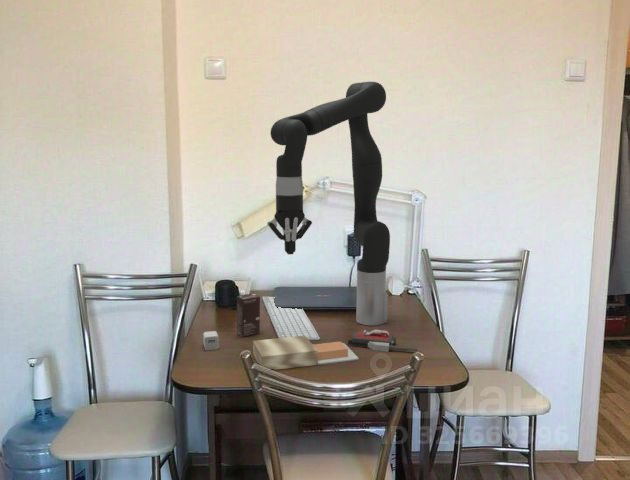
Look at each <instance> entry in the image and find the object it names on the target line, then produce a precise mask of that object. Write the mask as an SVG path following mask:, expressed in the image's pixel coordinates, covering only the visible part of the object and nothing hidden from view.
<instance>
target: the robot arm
mask: <svg viewBox="0 0 630 480" xmlns="http://www.w3.org/2000/svg"><path fill="white" fill-rule="evenodd" d="M386 101H387V92H386V90H385V87H384V86H383V85H382V84H381V83H379V82H376V81H362V82H355V83H352V84H350V85H349V86H348V88H347V90H346V93H345V97H344V98H341V99H337V100H332V101H328V102H325V103H322V104H319V105H316V106H315V107H312V108H310V109H307V110H306V111H304V112H300V113H297V114H293V115H290V116H286V117H283V118H280V119H278V120H277V121H275V122H274V123H273V124H272V126H271V128H270V138H271V140H272V141H273V142H274V143H275V144H277V145H279V146H284V152H283V154H280V155H278V157H276V162H275V163H276V164H275V165H276V167H275V169H276V175H275V176H276V180H275V214H274V217H273V219H272V220H269V221H267V223H266V224H267V226H268V227H269V228H270V230H271V231H272V232H273V233H274V234H275V235H276V237H277V238H278V239H279V240H281V241H284V252H285V253H286V254H287V255H294V254H295V253H296V246H297V245H296V241H297V240H301V239H302V238H303V237H304V235H305V234H306V233H307V231H308V230H309V228H310V227H311V226H312V224H313V222H312V220H310V219H308V218H306V216H305V213H304V183H303V163H302V162H303V158H304V154H305V151H306V146H307V141H308V137H309V136H315V135H317V134H319V133H322V132H324V131H326V130H328V129H330V128H332V127H334V126H336V125H339V124H340V123H341V124H342V123H344V122H346V121H348V127H349V135H350V136H349V137H350V146H351V148H350V149H351V166H352V167H351V169H352V180H353V181H352V182H353V197H354V199H353V200H354V201H353V202H354V217H353V236H354V240H355V241H356V242H357V244H358V245H360V246H361V247H362V255H361V258H360V259H359V260H358V261H357V263H356V307H355V308H356V311H355V313H356V315H355V316H356V319H355V321H356V322H357V323H358V324H360V325H364V326H379V325H383V324H385V323H388V305H389V304H388V303H389V300H388V297H389V295H388V293H387V292H386V281H387V280H386V278H387V277H386V276H387V273H386V272H387V265H388V262H389V258H390V248H391V247H390V244H391V233H390V229H389V226H387V225H386V224H385V223H383V222H382V221H379V220H378V218H377V208H376V207H377V197H378V195H379V192H380V189H381V186H382V185H381V184H382V181H383V180H382V179H383V163H382V162H383V157H382V154H381V151H380V150H379V149H380V148H379V147H378V145H377V144H376V141H375V140H374V137H373V136H372V134H371V132H370V127H369V120H368V119H369V118H368V114H373V113H374V114H375V113H378V112H379V111H380V110H382V109H383V107H384V106H385V104H386ZM301 224H302V225H301ZM278 225H279V227H280V228H281V229H282V233H281V231H280V230H279V228H277V227H278ZM300 225H301V226H300ZM299 227H300V228H299ZM298 228H299V229H298Z"/></svg>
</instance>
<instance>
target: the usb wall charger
mask: <svg viewBox="0 0 630 480" xmlns="http://www.w3.org/2000/svg"><path fill="white" fill-rule="evenodd" d="M202 336H203V337H202V341H203V347H204V350H205V351H213V350H219V348H220V340H219V339H220V338H219V335H218V332H217V331H216V330H214V331H213V330H212V331H205V332H203V333H202Z"/></svg>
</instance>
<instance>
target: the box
mask: <svg viewBox="0 0 630 480" xmlns="http://www.w3.org/2000/svg"><path fill="white" fill-rule="evenodd" d="M260 297H261V296H259V295H258V294H255V293H247V294H242V295H237V296H236V334H237V335H239V336H240V337H242V338H243V337H248V336H254V335H260V332H261V330H260V329H261V328H260V327H261V325H260V324H261V319H260V318H261V317H260V316H261V314H260V313H261V312H260V311H261V298H260Z"/></svg>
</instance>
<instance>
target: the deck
mask: <svg viewBox="0 0 630 480" xmlns="http://www.w3.org/2000/svg"><path fill="white" fill-rule="evenodd" d="M313 345H314V344H313V343H312V342H311V341H309V340H308V338H307V337H306V336H295V337H286V338H278V337H277V338H270V339H258V340H252V355H253V357H254V359H255V361H256V362H257V364H258V363H259V364H261V365H263V366H266V367H268V368H271V369H274V370H273V371H275V370H284V369H292V368H300V367H308V366H311V367H312V366H317V365H318V350H317V349H316V348H315V347H314V346H313ZM259 364H258V365H259Z"/></svg>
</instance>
